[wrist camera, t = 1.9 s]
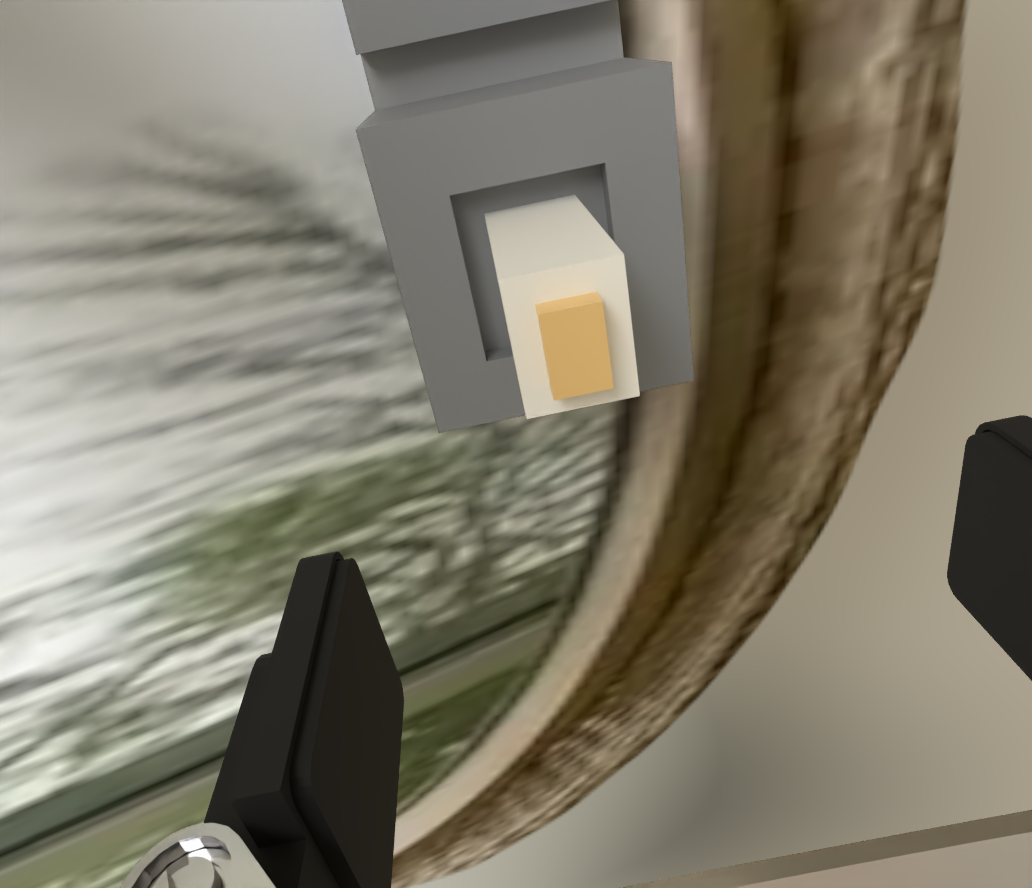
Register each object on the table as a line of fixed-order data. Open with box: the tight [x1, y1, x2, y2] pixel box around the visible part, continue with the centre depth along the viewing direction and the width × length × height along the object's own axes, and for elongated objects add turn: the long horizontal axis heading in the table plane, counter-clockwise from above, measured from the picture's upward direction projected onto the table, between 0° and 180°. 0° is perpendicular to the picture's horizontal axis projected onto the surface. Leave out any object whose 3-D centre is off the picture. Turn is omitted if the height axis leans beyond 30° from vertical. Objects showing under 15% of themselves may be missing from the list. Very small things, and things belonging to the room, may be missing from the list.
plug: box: [484, 195, 640, 419], centre depth 22 cm, size 4×3×9 cm
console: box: [342, 0, 694, 433], centre depth 25 cm, size 24×10×8 cm, turn 11°
